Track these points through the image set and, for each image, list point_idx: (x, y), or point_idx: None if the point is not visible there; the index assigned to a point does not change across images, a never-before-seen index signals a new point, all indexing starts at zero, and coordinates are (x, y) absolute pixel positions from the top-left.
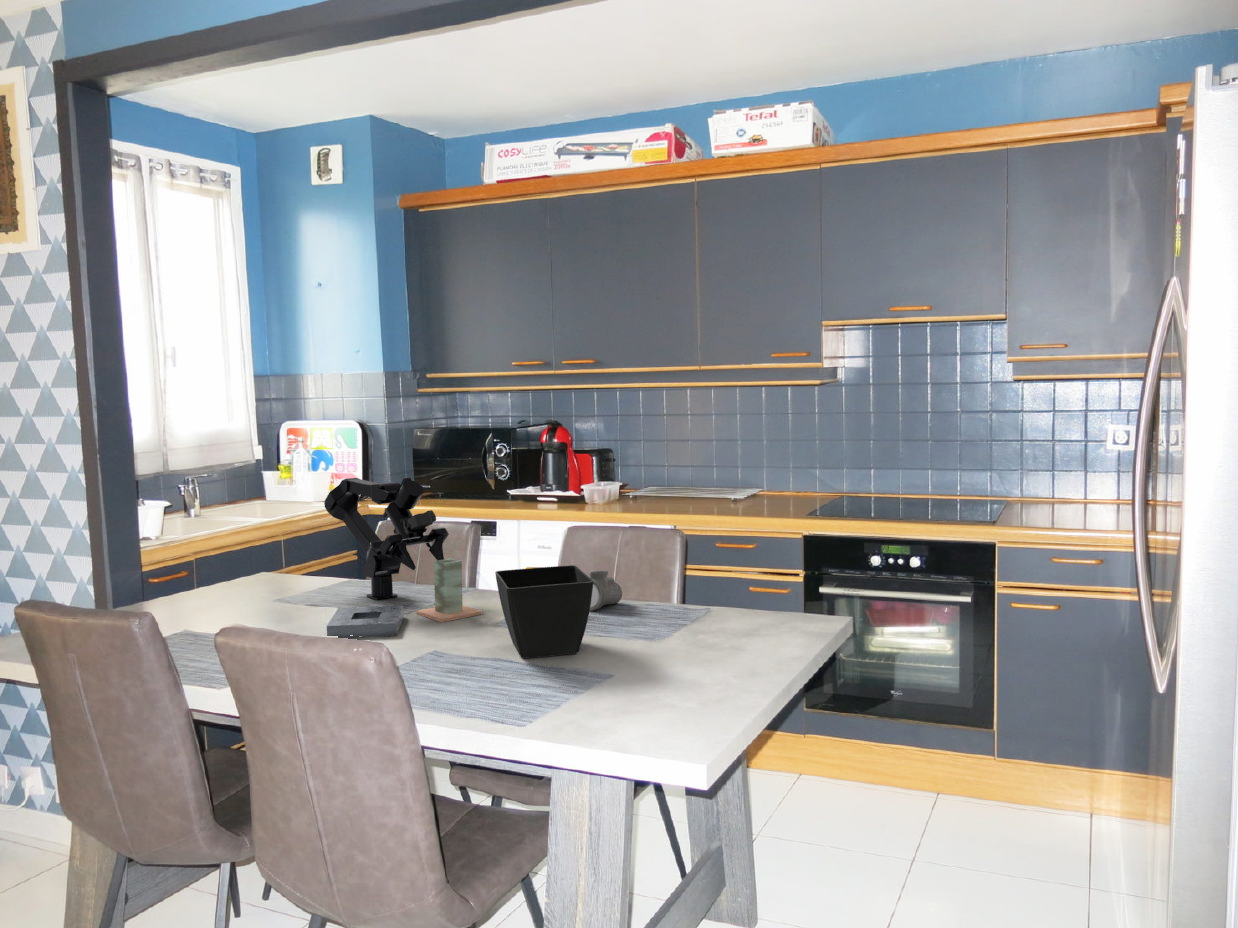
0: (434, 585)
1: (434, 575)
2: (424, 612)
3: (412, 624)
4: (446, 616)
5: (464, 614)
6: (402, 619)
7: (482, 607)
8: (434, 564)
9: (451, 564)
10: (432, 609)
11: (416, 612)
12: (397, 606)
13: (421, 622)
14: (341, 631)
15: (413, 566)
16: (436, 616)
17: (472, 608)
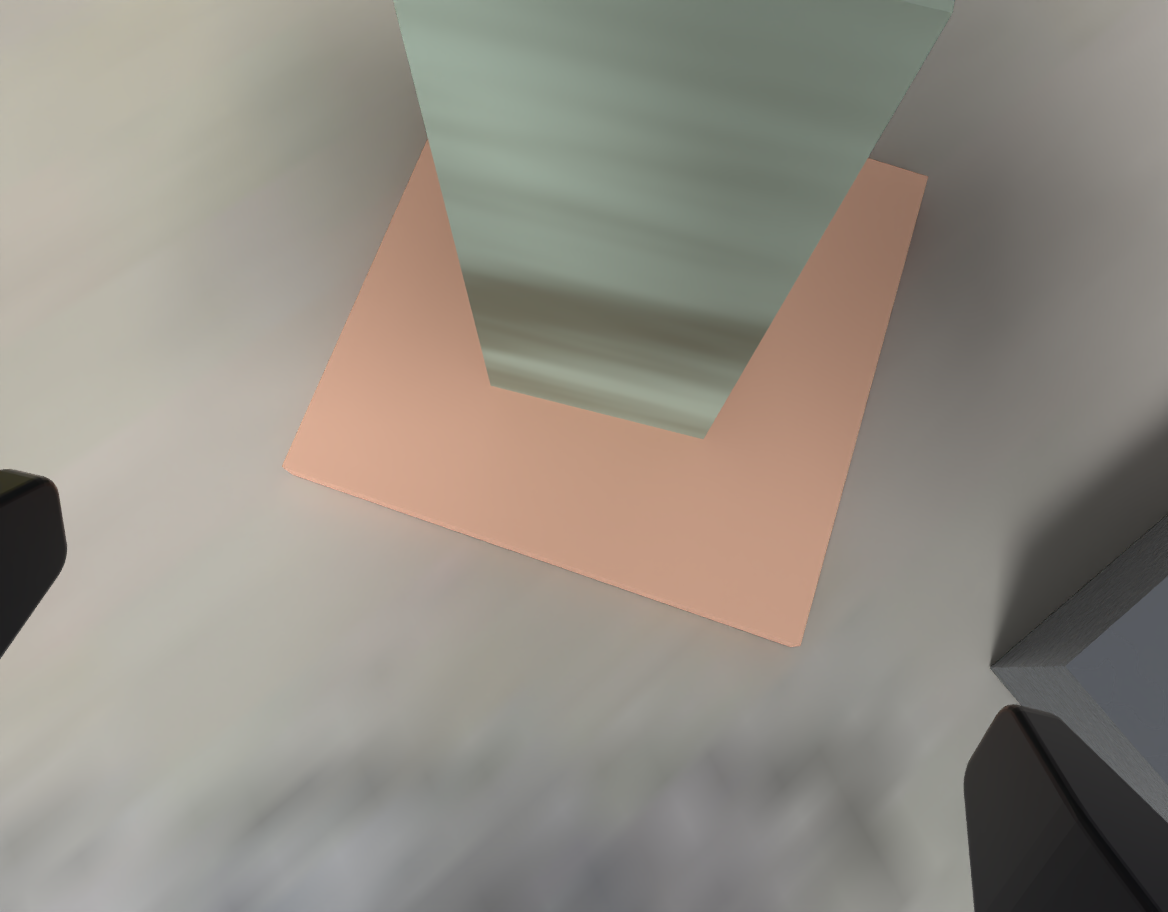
0: (771, 322)
1: (822, 229)
2: (813, 502)
3: (1136, 376)
4: None
5: None
6: (1081, 590)
7: (226, 204)
8: (913, 62)
9: None
10: (657, 516)
11: (794, 646)
12: (1140, 702)
13: (1028, 350)
14: None
15: (1080, 750)
16: (875, 277)
17: (415, 171)
